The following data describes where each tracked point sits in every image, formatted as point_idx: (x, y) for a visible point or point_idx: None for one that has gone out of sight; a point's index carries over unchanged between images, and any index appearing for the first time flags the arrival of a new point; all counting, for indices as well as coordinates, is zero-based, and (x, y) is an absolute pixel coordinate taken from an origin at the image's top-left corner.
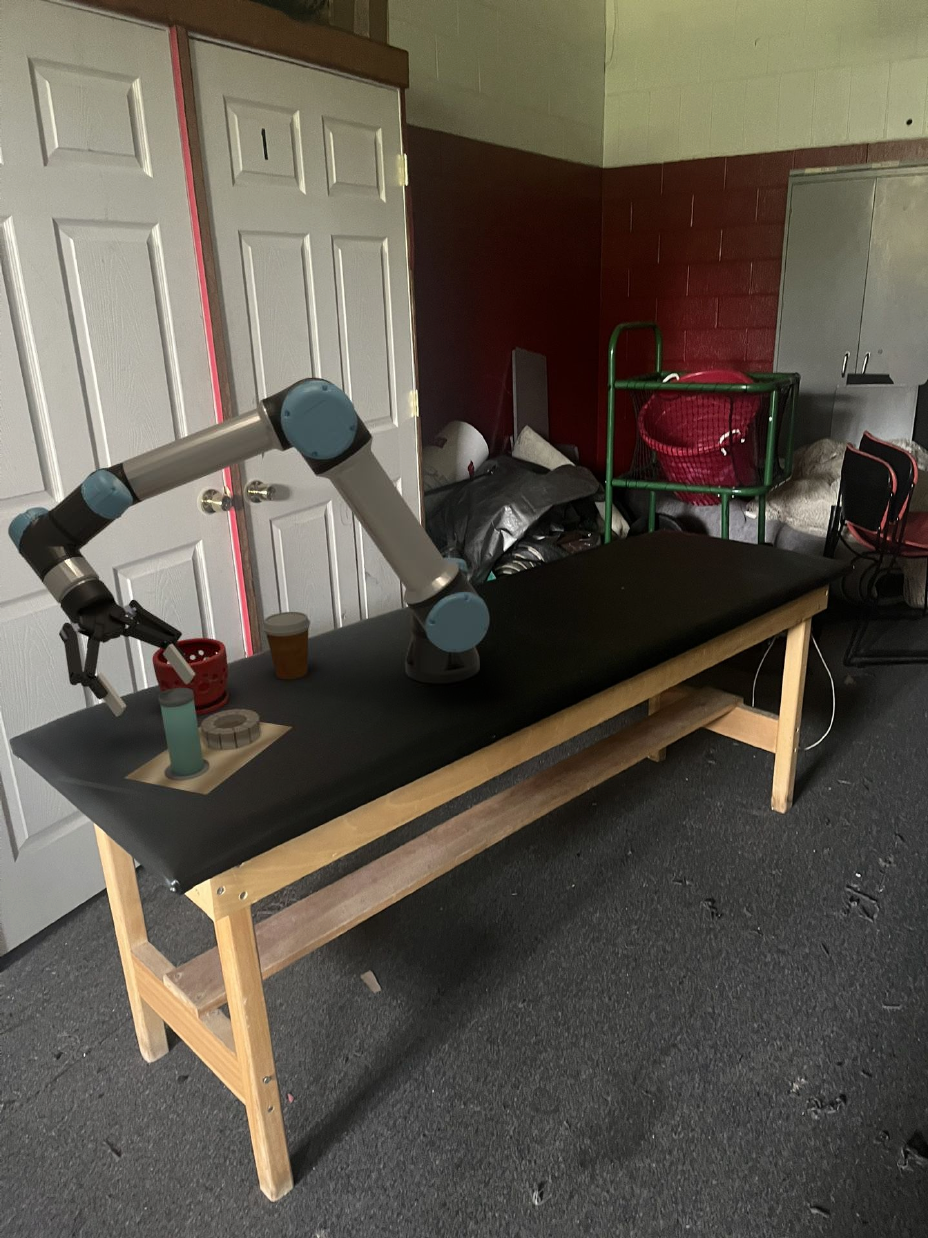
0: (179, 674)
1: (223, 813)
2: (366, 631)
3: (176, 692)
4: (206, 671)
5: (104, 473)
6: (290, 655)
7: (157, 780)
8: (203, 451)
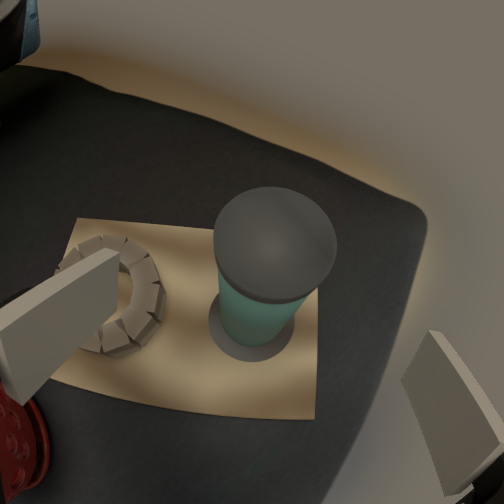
0: (93, 327)
1: (332, 209)
2: None
3: (260, 243)
4: None
5: None
6: None
7: (304, 349)
8: None
